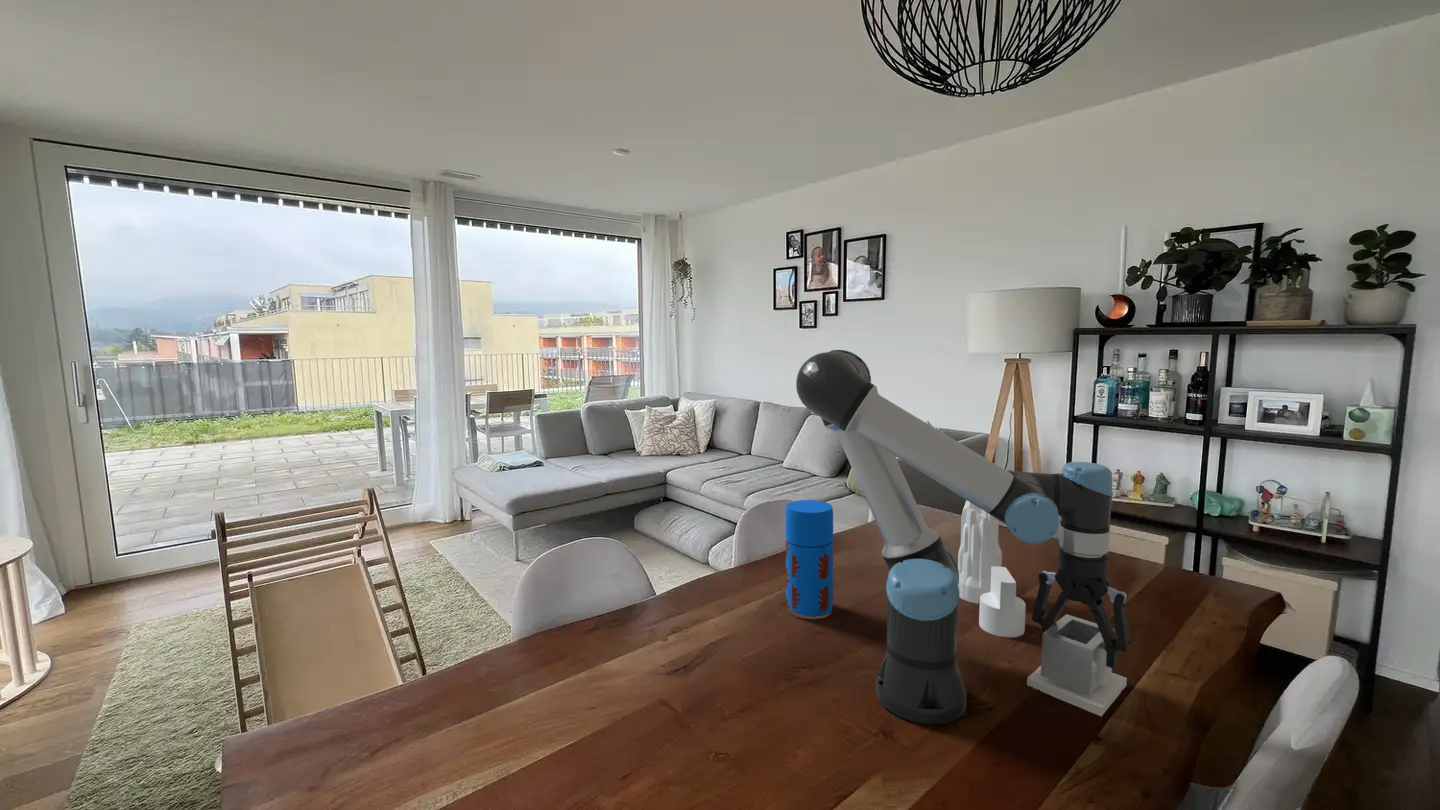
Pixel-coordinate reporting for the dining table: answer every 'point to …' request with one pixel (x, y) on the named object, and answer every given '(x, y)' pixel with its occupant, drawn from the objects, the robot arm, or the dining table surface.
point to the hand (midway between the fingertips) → (1076, 671)
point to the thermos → (809, 557)
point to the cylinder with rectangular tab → (1002, 606)
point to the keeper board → (1091, 703)
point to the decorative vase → (977, 552)
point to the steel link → (1072, 653)
